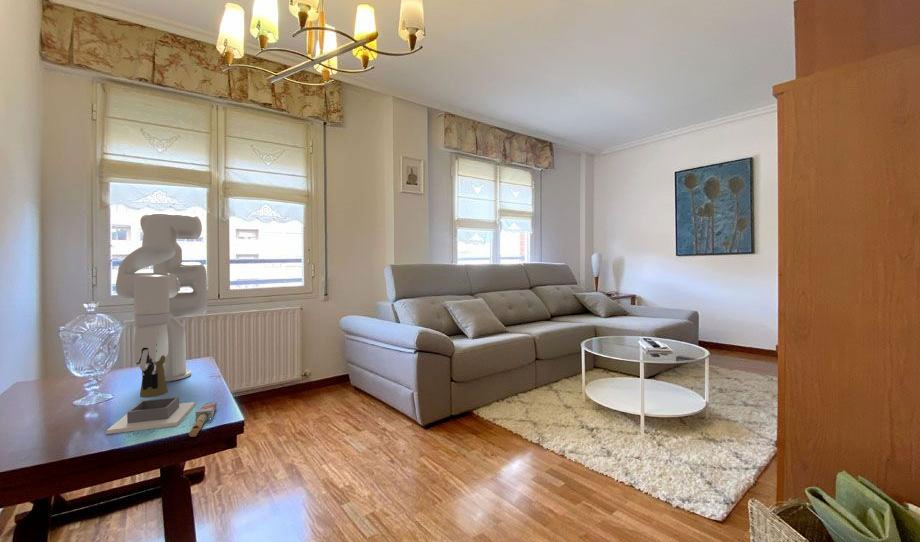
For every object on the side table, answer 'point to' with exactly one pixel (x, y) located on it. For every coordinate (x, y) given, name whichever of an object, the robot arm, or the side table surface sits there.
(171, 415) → the beige square socket base
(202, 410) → the paintbrush
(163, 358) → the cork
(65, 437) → the side table surface
